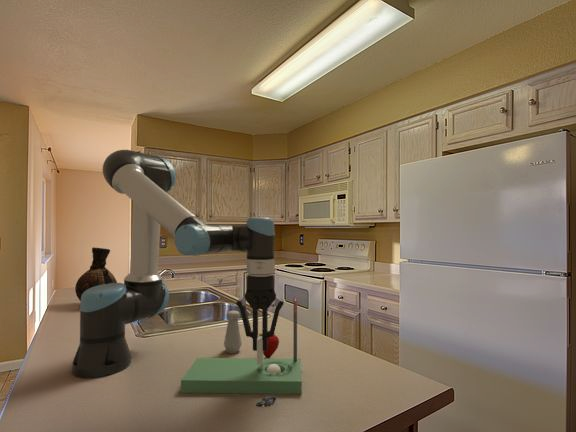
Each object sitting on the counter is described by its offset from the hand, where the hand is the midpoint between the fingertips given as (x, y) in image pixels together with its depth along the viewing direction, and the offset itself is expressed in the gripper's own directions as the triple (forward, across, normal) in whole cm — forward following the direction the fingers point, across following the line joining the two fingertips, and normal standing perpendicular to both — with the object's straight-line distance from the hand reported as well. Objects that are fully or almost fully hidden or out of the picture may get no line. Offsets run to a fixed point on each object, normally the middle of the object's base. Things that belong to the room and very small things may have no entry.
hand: (260, 362), depth 90 cm
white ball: (+3, +4, 0) cm, 5 cm away
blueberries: (+5, +3, -11) cm, 12 cm away
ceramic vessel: (+5, -91, +78) cm, 120 cm away
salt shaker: (+5, -11, +20) cm, 24 cm away
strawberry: (+5, +1, +14) cm, 15 cm away
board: (+5, -4, 0) cm, 6 cm away
